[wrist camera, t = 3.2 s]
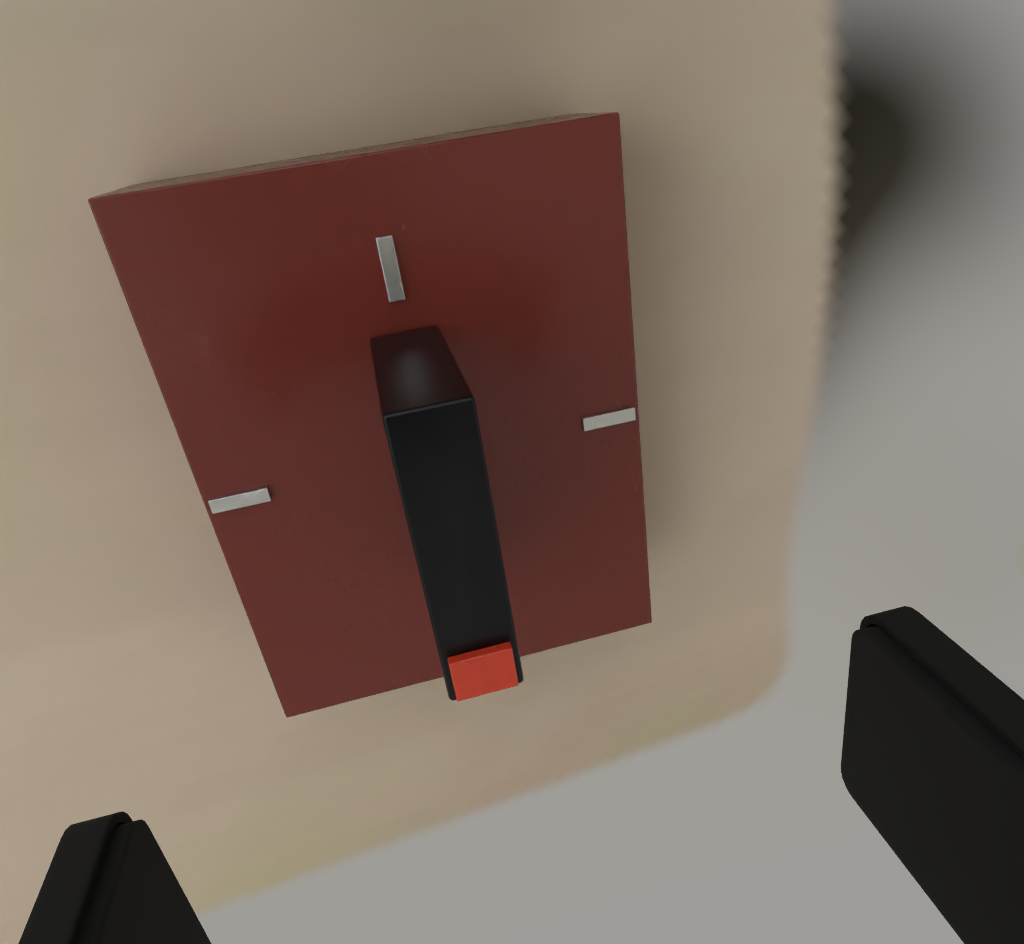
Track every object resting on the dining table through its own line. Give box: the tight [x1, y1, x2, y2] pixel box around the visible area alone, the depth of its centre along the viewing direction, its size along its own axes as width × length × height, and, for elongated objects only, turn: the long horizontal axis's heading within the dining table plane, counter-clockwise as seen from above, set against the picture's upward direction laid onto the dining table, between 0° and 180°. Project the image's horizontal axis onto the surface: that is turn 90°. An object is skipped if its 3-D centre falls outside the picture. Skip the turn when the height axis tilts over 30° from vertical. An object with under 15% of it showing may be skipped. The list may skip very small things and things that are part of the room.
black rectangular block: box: [370, 326, 523, 701], centre depth 16 cm, size 6×2×5 cm, turn 8°
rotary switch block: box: [88, 112, 652, 717], centre depth 20 cm, size 14×11×4 cm
